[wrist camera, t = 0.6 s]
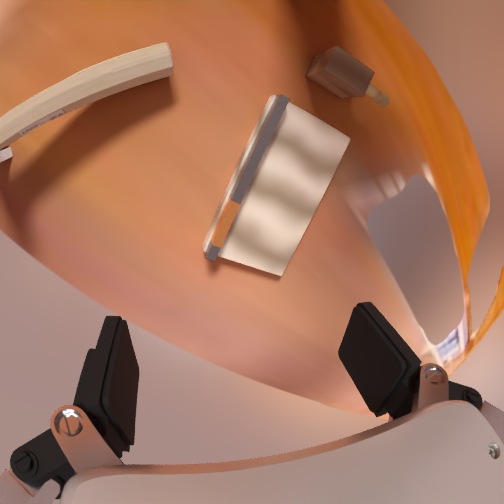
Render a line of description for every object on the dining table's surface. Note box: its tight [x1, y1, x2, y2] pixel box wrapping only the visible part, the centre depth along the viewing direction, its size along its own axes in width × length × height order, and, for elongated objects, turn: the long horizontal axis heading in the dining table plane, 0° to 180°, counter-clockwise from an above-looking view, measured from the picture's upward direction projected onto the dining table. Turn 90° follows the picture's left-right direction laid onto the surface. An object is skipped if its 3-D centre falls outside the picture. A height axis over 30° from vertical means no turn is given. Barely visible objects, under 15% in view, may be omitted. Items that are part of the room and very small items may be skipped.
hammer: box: [0, 42, 174, 163], centre depth 21 cm, size 16×5×30 cm
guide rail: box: [205, 94, 290, 261], centre depth 32 cm, size 22×1×2 cm, turn 155°
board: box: [203, 95, 350, 276], centre depth 36 cm, size 22×12×2 cm, turn 155°
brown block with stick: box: [305, 45, 389, 107], centre depth 29 cm, size 4×10×6 cm, turn 65°
